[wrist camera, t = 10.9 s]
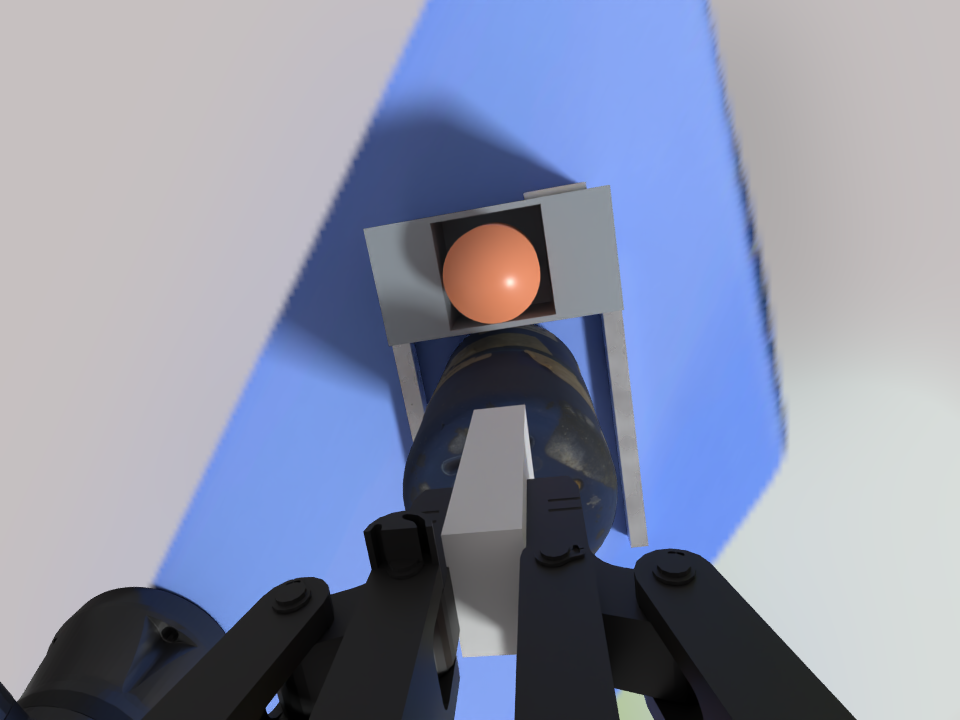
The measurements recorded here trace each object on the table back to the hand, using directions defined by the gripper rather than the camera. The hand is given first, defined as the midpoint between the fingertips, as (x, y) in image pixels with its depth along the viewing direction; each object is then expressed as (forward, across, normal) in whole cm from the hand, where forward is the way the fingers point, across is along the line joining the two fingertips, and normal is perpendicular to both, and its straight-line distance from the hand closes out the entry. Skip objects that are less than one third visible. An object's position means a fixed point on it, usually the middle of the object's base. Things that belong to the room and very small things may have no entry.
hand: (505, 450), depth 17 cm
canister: (+23, -1, -5) cm, 24 cm away
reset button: (+15, -1, +4) cm, 15 cm away
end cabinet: (+23, -1, +4) cm, 23 cm away
